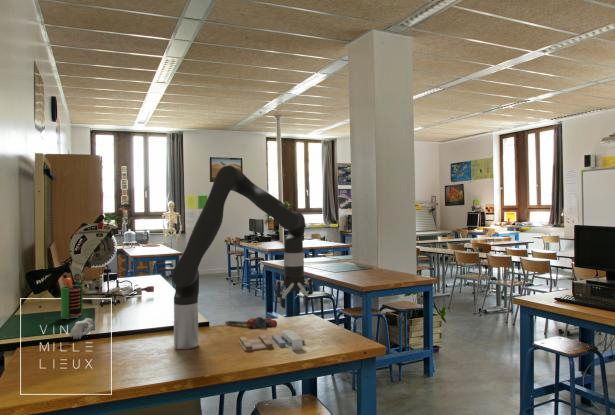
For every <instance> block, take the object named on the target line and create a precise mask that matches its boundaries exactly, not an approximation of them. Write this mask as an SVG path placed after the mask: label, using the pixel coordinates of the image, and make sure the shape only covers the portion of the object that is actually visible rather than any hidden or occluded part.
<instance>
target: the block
mask: <svg viewBox="0 0 615 415" xmlns="http://www.w3.org/2000/svg"><path fill="white" fill-rule="evenodd" d="M296 333H297V332H295V331H294V330H292V329H291V328H290V329H281V335H280V336H281V339H282V340H283V341H284V342H285V344H286V345H287V346H286V347H287V348H289V349H290V351H293V352H294V351H301V350H303V345H302V339H303V337H301V336H300V335H299V334H298V333H297V334H298V335H299V336H298V335H297V334H296Z"/></svg>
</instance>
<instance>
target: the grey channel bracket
mask: <svg viewBox="0 0 615 415" xmlns="http://www.w3.org/2000/svg"><path fill="white" fill-rule="evenodd" d="M295 333H296V334H297V335H298V336H300V335H299V334H298V333H297V332H295ZM270 341H271V342H272V343H274V344H275V345H276V346H277V348H285V347H288V346H287V345H286V344H285V342H284V341H283V340H282V339H281V337H280V336H279V334H274V333H273V334H271V338H270ZM304 345H306V342H305V339H303V338H302V346H304Z"/></svg>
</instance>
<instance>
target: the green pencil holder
mask: <svg viewBox="0 0 615 415" xmlns="http://www.w3.org/2000/svg"><path fill="white" fill-rule="evenodd" d="M63 283H67V285H64V286H61V287H60V318H61V317H63V318H69V317H75V316H80V315H81V314H82V315H83V308H84V307H83V304H84V303H83V298H84V295H83V291H84V290H83V288H84V287H83V285H82V284H73V280H72V278H71V277H65V278H63ZM69 314H75V315H69Z"/></svg>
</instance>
